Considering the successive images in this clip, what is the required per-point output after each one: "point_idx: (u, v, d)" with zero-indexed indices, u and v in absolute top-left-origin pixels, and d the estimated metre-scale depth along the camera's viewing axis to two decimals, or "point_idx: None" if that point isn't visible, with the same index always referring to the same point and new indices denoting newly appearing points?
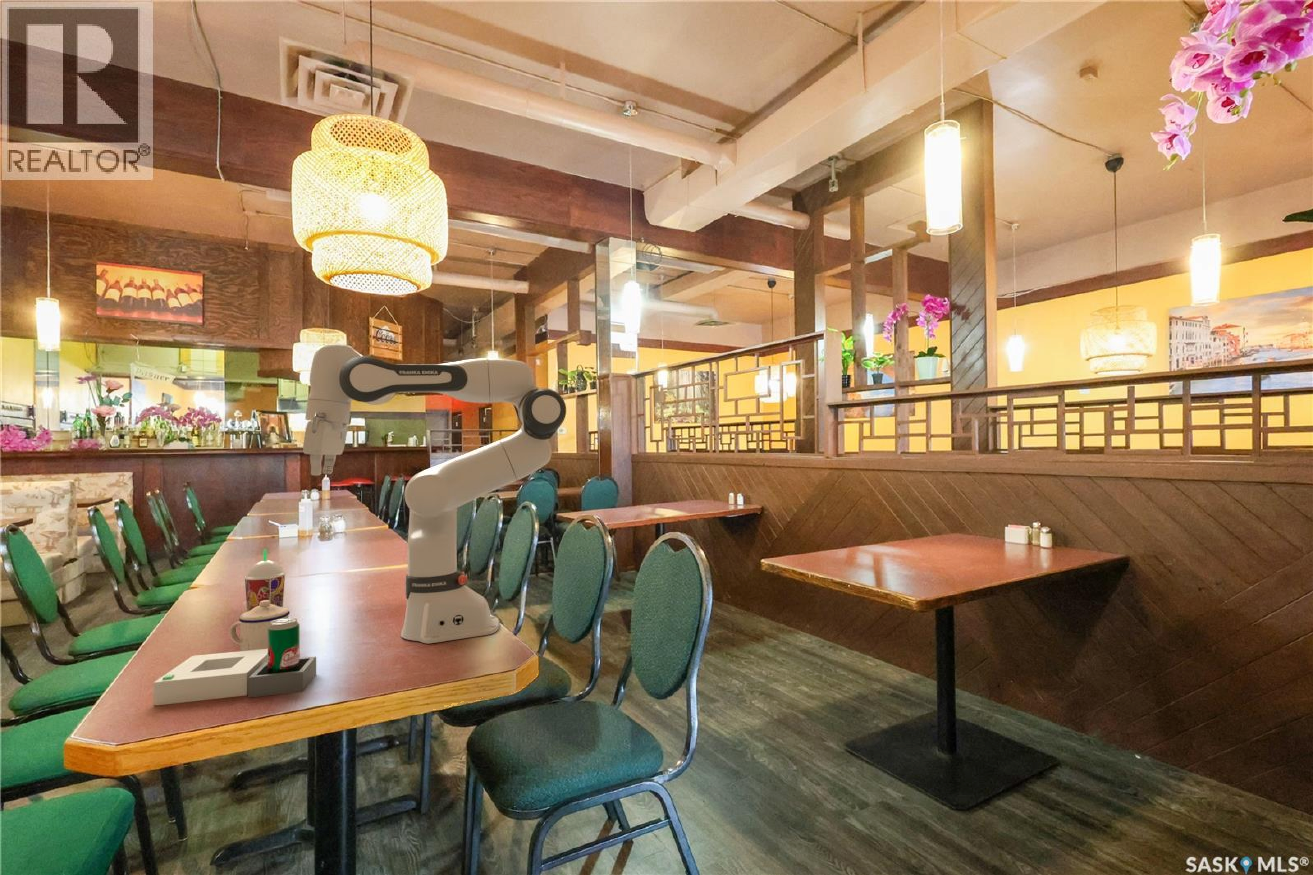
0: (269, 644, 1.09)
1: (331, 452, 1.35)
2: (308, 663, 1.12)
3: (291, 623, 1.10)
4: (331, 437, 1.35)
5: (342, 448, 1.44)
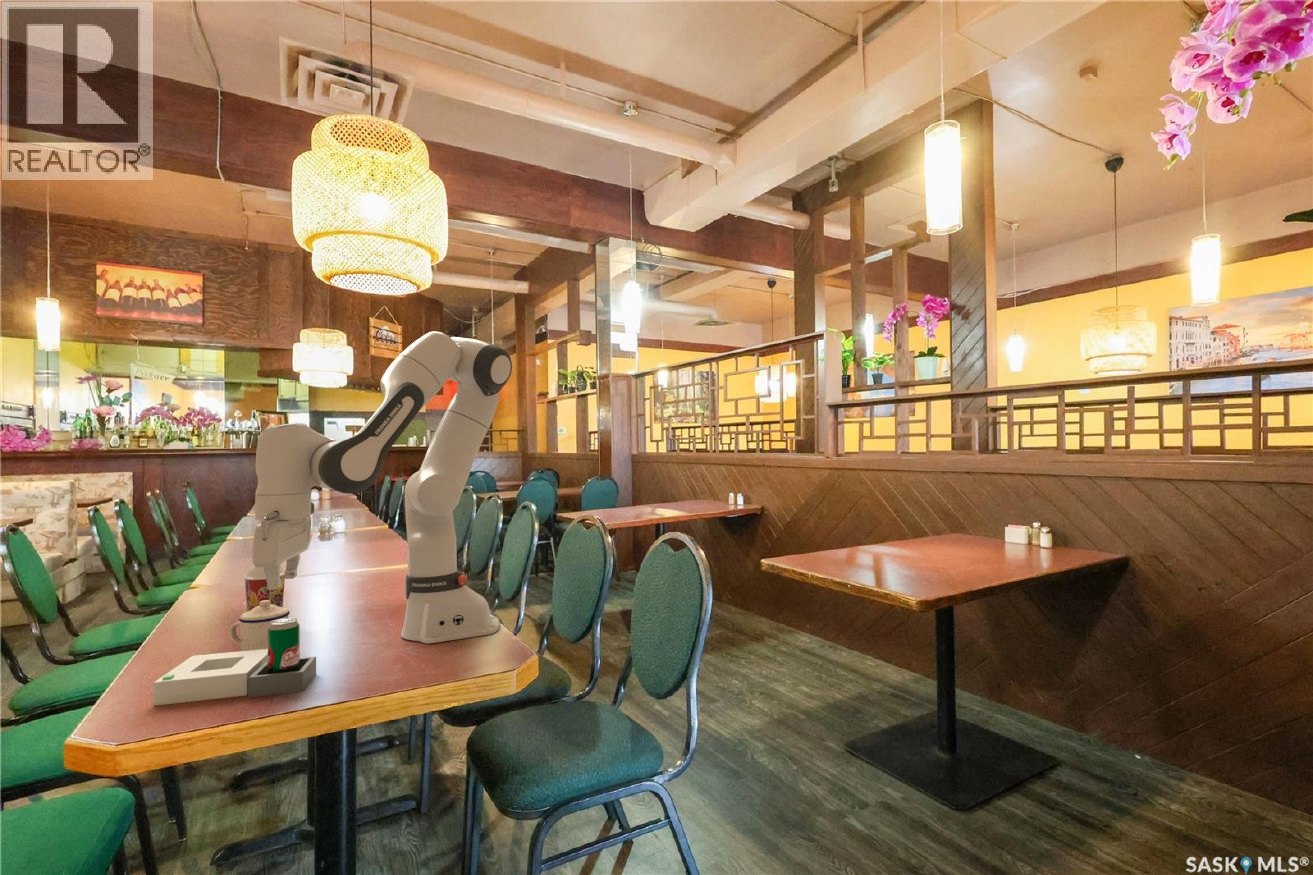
0: (269, 644, 1.09)
1: (291, 555, 1.10)
2: (308, 663, 1.12)
3: (291, 623, 1.10)
4: (290, 537, 1.10)
5: (307, 542, 1.20)
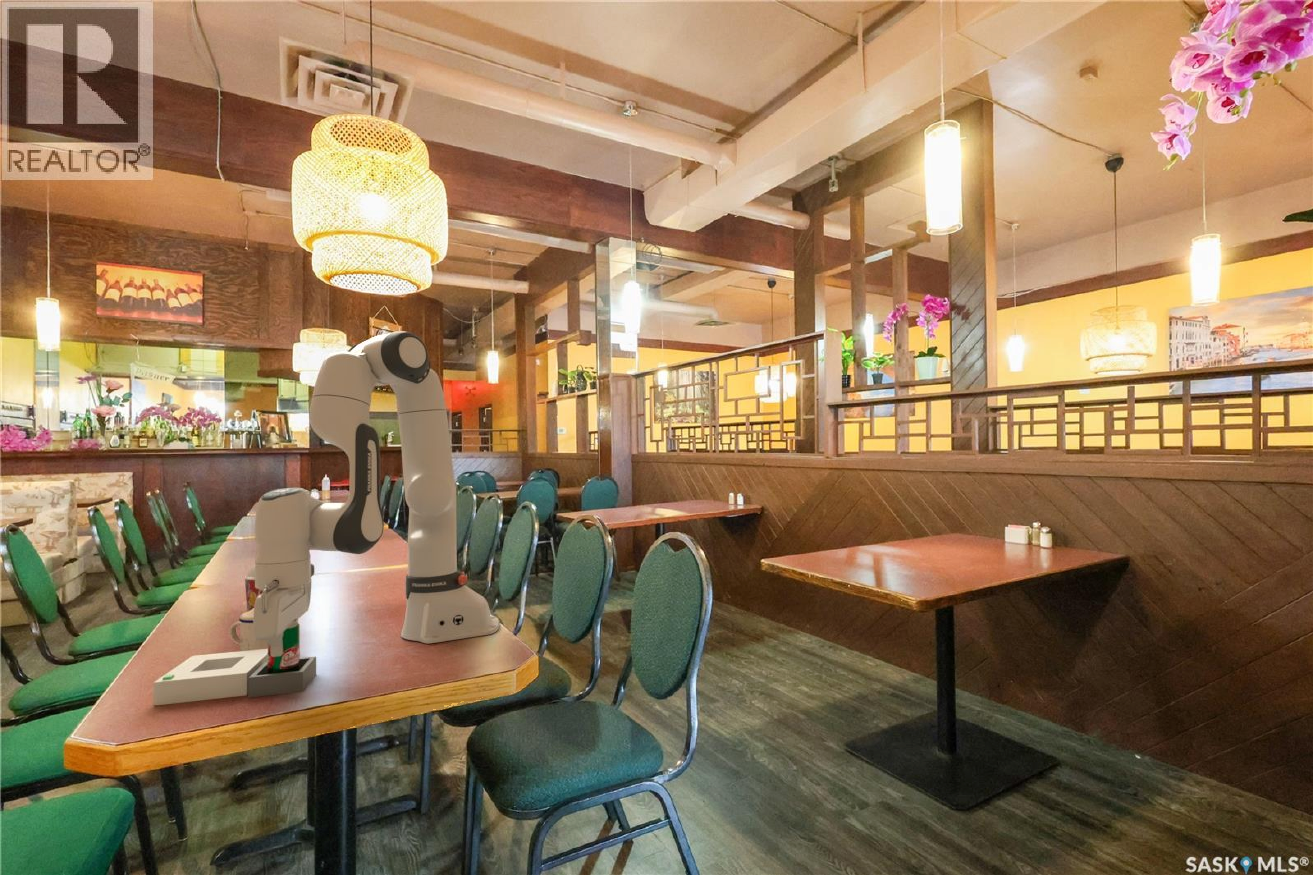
0: None
1: None
2: (308, 663, 1.12)
3: None
4: (290, 604, 1.10)
5: (307, 604, 1.19)
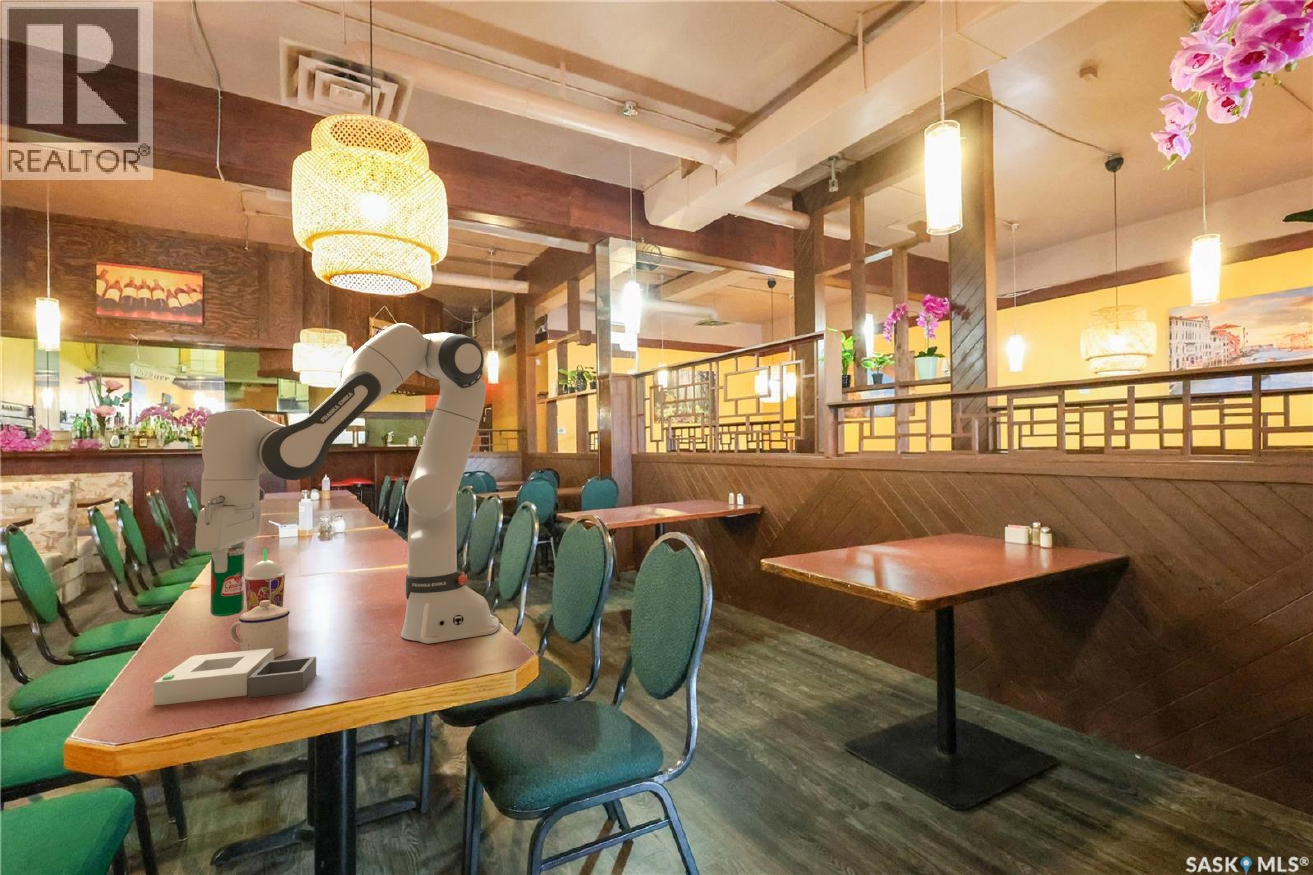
0: (211, 571, 1.09)
1: (238, 541, 1.10)
2: (308, 663, 1.12)
3: (234, 551, 1.10)
4: (236, 523, 1.10)
5: (256, 529, 1.20)
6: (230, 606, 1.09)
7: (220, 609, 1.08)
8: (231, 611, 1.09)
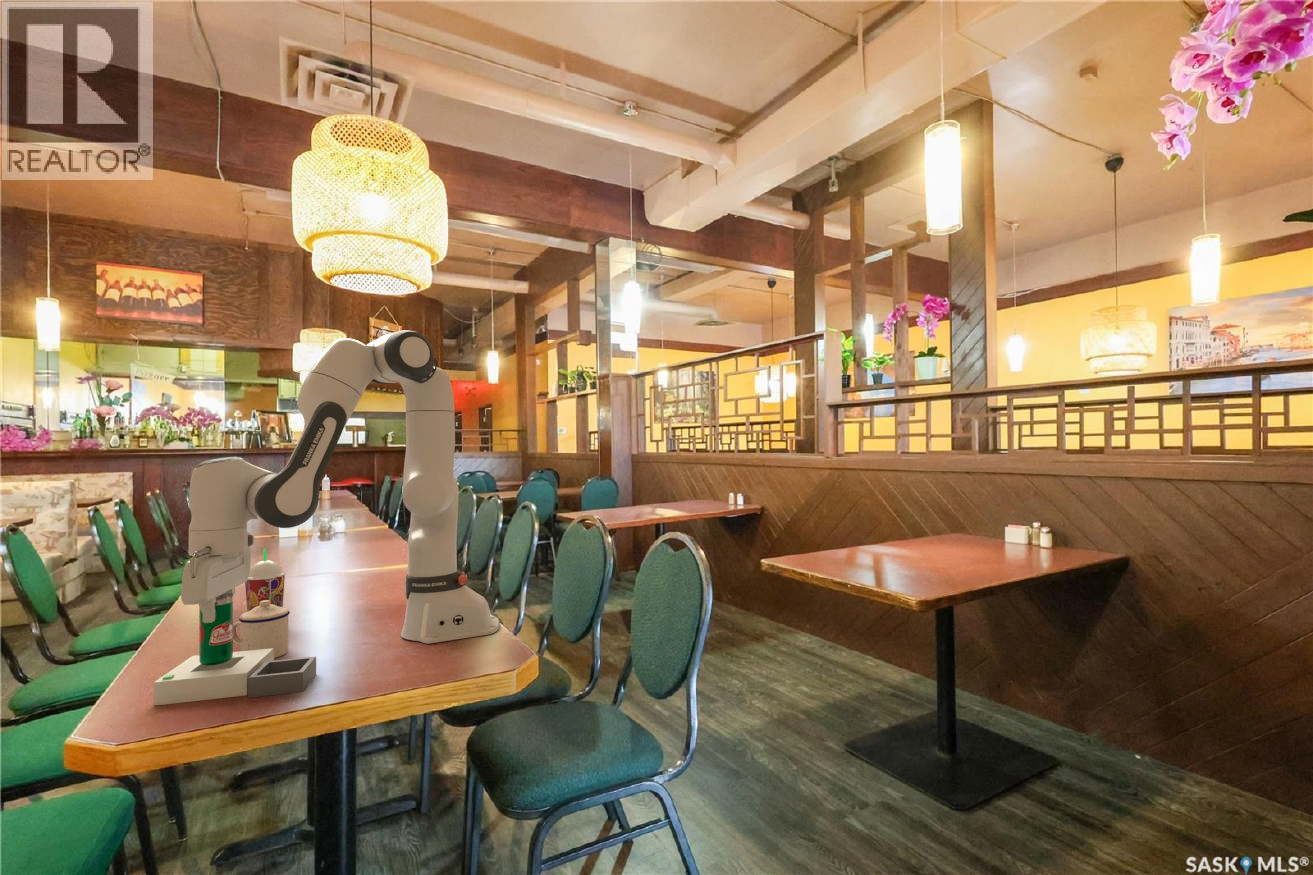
0: (200, 620, 1.09)
1: (226, 589, 1.11)
2: (308, 663, 1.12)
3: (222, 600, 1.10)
4: (224, 572, 1.11)
5: (246, 574, 1.20)
6: (218, 655, 1.09)
7: (208, 658, 1.09)
8: (220, 660, 1.10)
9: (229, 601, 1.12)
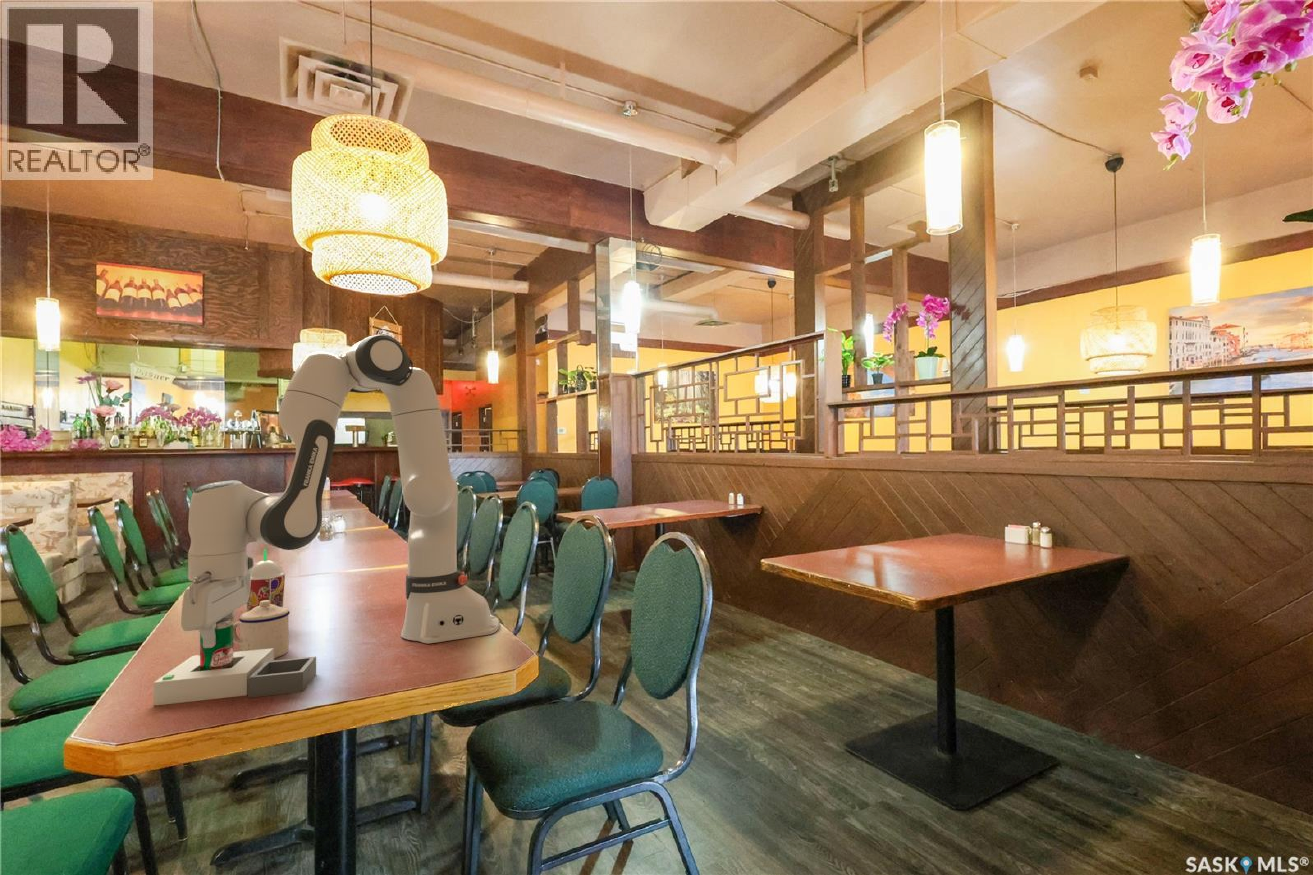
0: (200, 644, 1.09)
1: (226, 614, 1.11)
2: (308, 663, 1.12)
3: (222, 624, 1.10)
4: (224, 596, 1.11)
5: (247, 596, 1.20)
6: None
7: None
8: None
9: (229, 624, 1.12)
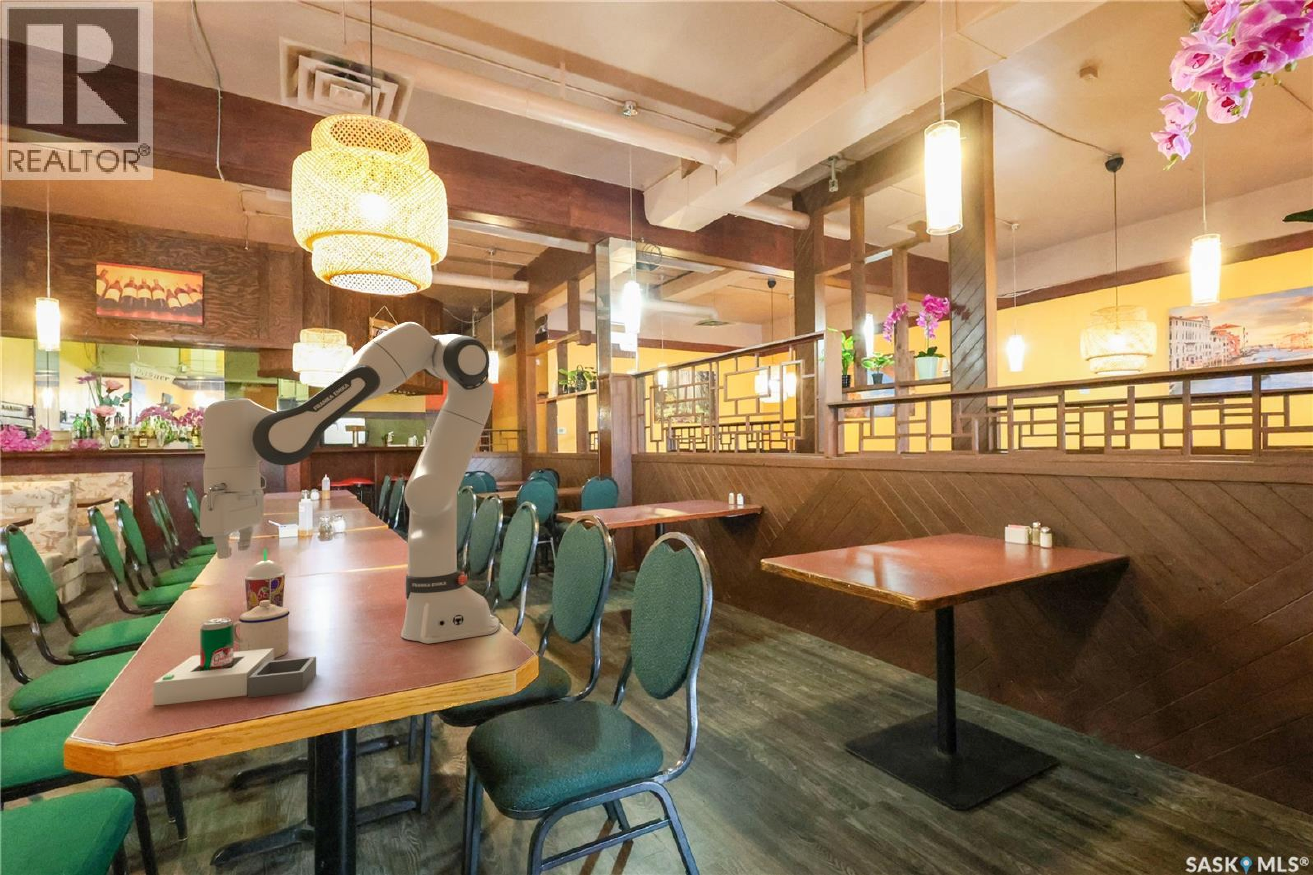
0: (200, 644, 1.09)
1: (242, 526, 1.14)
2: (308, 663, 1.12)
3: (223, 623, 1.10)
4: (239, 509, 1.14)
5: (260, 516, 1.23)
6: None
7: None
8: None
9: (230, 624, 1.12)
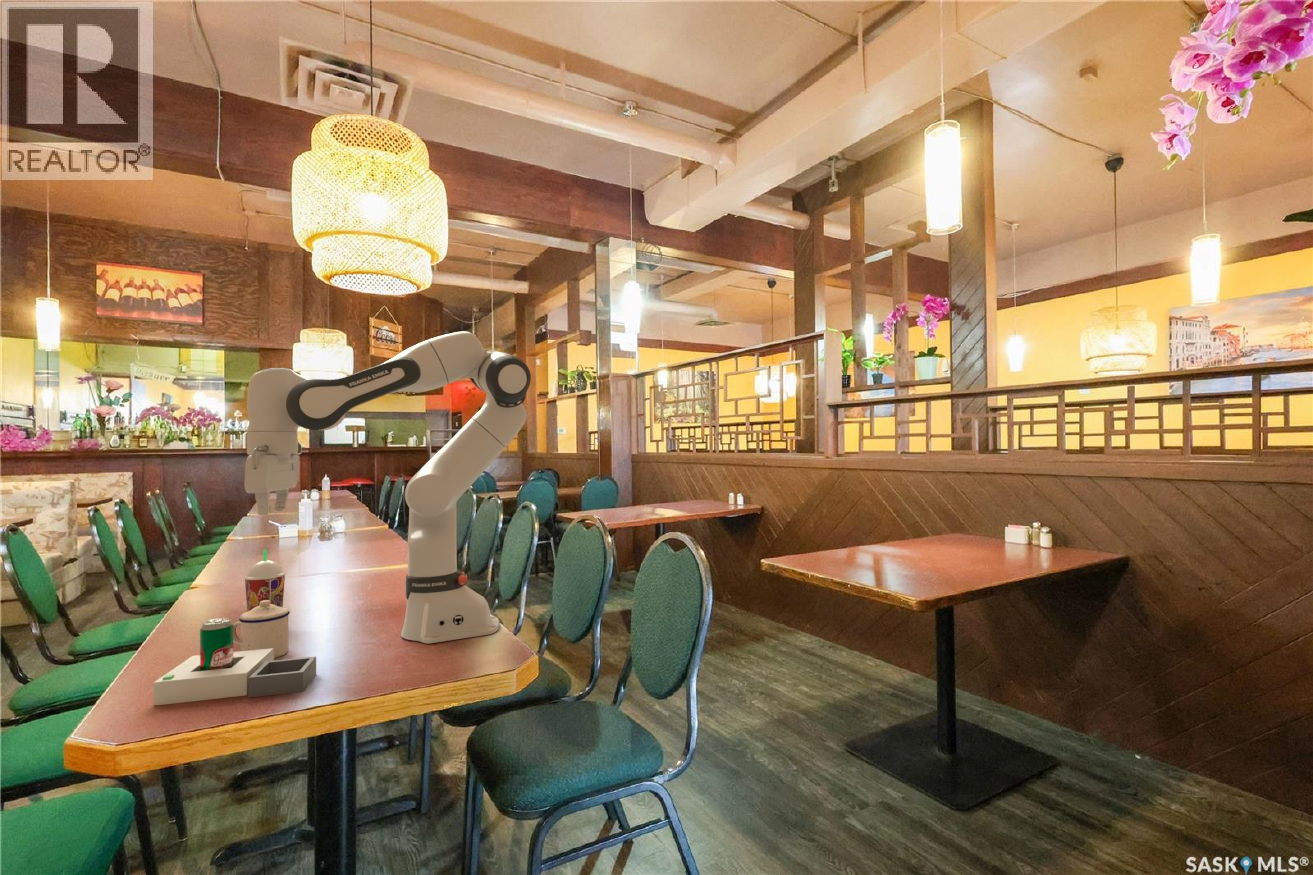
0: (200, 644, 1.09)
1: (280, 487, 1.23)
2: (308, 663, 1.12)
3: (222, 623, 1.10)
4: (278, 471, 1.22)
5: (295, 480, 1.32)
6: None
7: None
8: None
9: (229, 624, 1.12)
